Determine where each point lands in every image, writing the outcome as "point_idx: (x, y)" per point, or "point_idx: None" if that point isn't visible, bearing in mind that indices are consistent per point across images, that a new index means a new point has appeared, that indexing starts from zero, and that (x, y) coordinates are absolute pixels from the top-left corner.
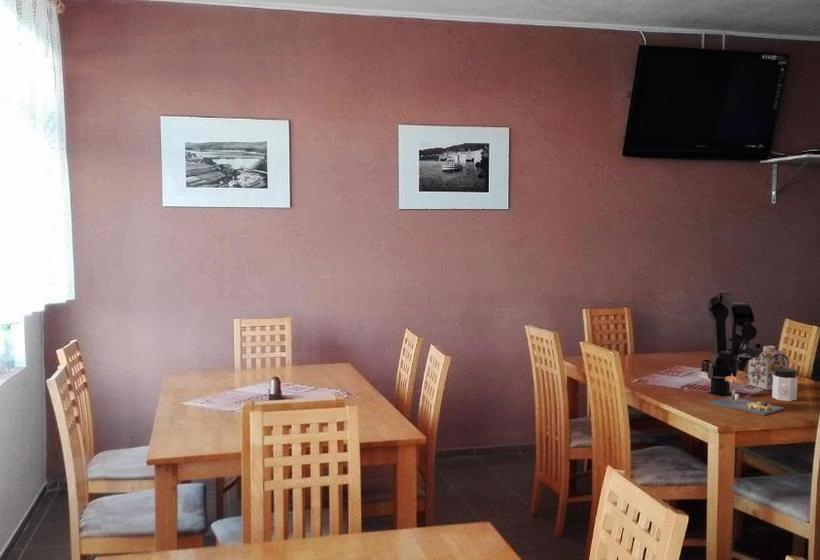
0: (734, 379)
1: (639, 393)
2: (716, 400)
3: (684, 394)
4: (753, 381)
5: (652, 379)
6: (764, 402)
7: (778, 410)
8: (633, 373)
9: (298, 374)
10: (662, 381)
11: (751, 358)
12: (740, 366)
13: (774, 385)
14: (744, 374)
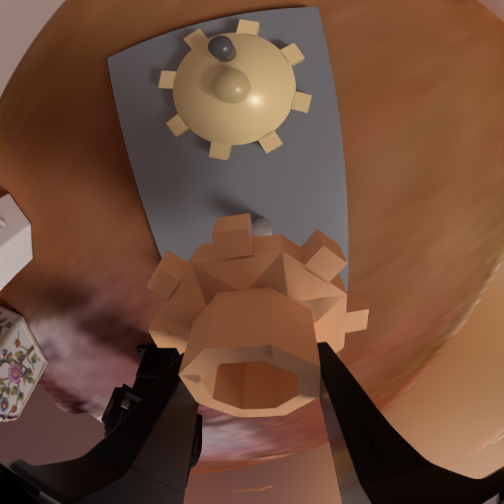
0: (345, 310)
1: (381, 412)
2: None
3: None
4: (35, 359)
5: (229, 453)
6: (233, 47)
7: (160, 38)
8: (227, 467)
9: (489, 441)
10: (222, 446)
11: (33, 478)
12: (178, 438)
13: (2, 273)
14: (211, 328)
